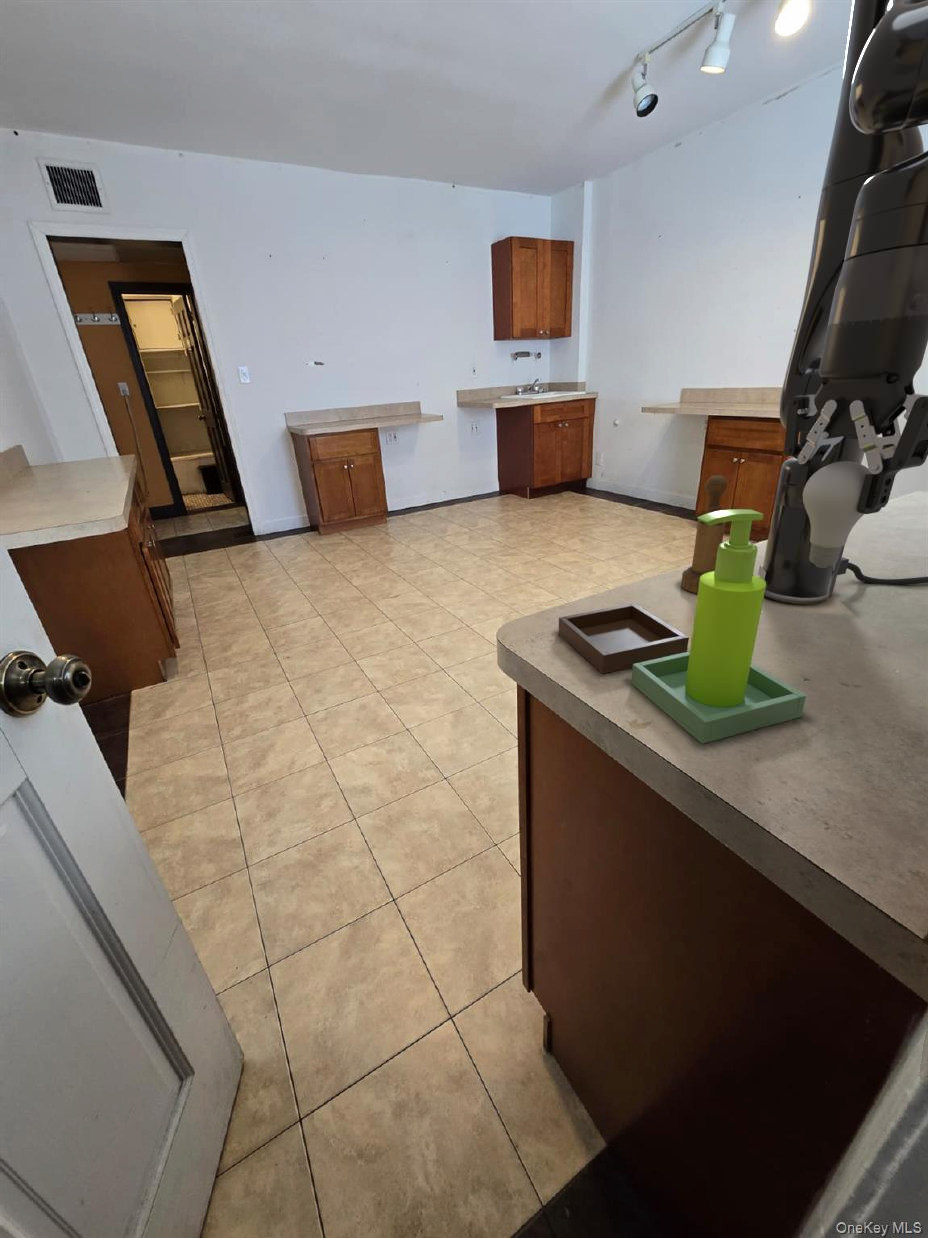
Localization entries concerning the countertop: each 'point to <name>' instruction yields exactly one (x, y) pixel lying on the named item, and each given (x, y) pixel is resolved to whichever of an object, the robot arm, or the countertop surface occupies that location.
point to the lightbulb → (833, 508)
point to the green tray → (709, 723)
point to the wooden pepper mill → (706, 538)
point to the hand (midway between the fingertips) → (835, 505)
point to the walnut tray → (621, 637)
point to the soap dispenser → (726, 616)
